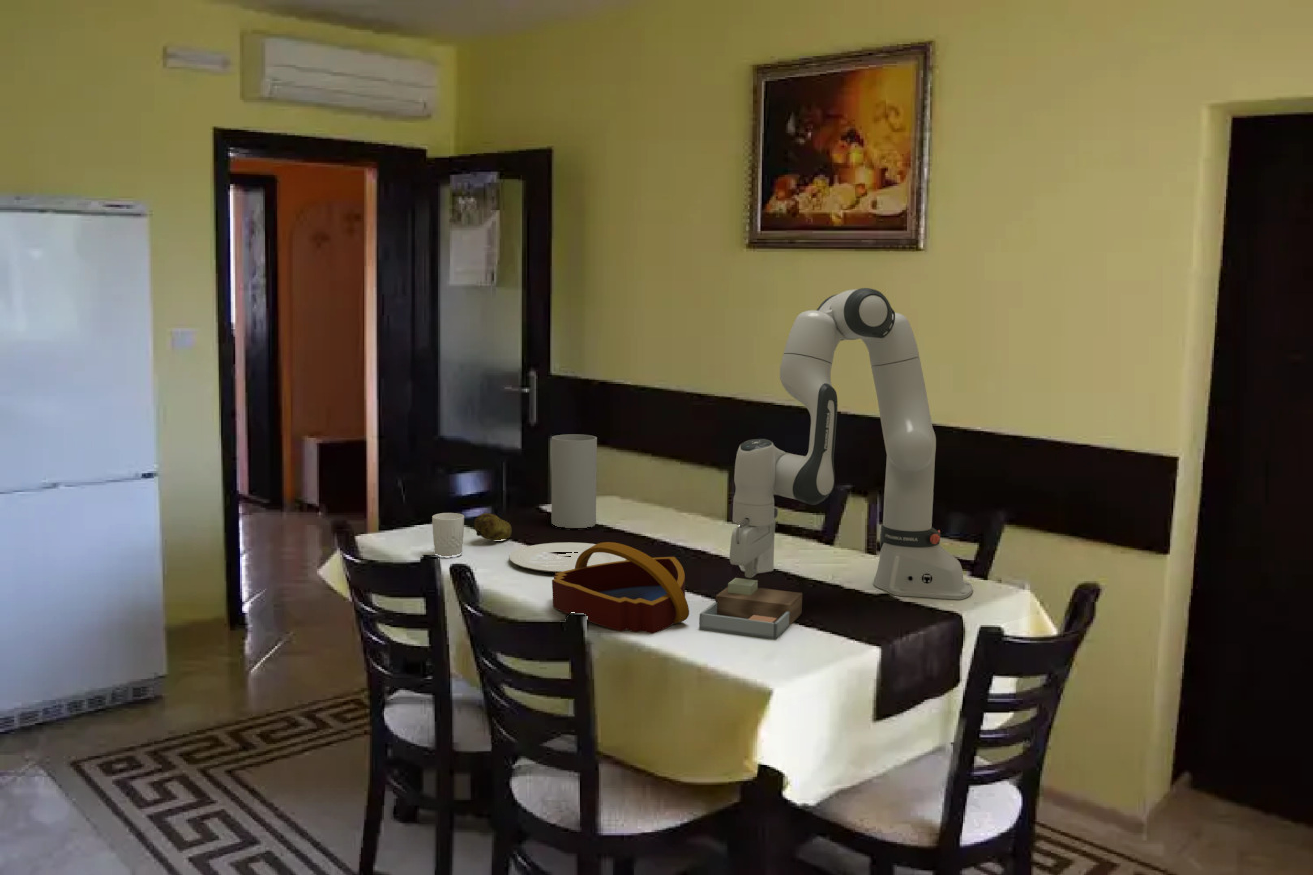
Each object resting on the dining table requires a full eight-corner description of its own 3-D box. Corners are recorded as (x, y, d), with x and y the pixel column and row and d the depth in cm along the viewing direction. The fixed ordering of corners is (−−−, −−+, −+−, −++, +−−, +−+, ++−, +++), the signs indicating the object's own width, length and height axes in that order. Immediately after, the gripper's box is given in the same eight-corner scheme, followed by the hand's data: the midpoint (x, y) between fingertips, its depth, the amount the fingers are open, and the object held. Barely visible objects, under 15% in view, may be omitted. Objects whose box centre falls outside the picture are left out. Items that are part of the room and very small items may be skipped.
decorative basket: (528, 612, 258) (520, 547, 254) (633, 573, 275) (627, 512, 272) (622, 655, 232) (614, 584, 228) (731, 610, 249) (726, 542, 245)
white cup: (426, 556, 295) (425, 517, 293) (443, 550, 302) (443, 511, 301) (453, 560, 292) (453, 520, 290) (470, 553, 299) (470, 514, 298)
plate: (651, 564, 293) (652, 556, 293) (564, 585, 272) (564, 577, 272) (571, 543, 313) (571, 536, 313) (484, 562, 292) (484, 554, 291)
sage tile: (757, 589, 254) (757, 580, 254) (750, 595, 249) (750, 586, 249) (735, 586, 256) (735, 577, 255) (727, 592, 251) (728, 583, 251)
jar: (751, 575, 283) (753, 525, 282) (731, 567, 290) (732, 519, 288) (781, 570, 288) (782, 522, 286) (760, 563, 295) (761, 515, 293)
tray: (788, 626, 243) (789, 611, 242) (776, 639, 234) (776, 624, 234) (714, 616, 249) (714, 602, 248) (699, 629, 240) (699, 613, 240)
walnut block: (801, 613, 252) (802, 593, 252) (788, 626, 243) (789, 605, 243) (730, 604, 258) (730, 584, 258) (715, 616, 249) (715, 595, 248)
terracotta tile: (769, 624, 235) (769, 634, 236) (776, 617, 240) (776, 627, 240) (745, 621, 237) (745, 630, 238) (753, 614, 242) (752, 624, 242)
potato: (523, 540, 314) (523, 510, 313) (484, 548, 305) (484, 517, 304) (503, 535, 320) (503, 506, 319) (465, 542, 311) (465, 512, 310)
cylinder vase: (599, 529, 329) (600, 440, 325) (554, 530, 326) (555, 441, 323) (592, 520, 341) (593, 434, 337) (548, 521, 338) (549, 434, 335)
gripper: (752, 525, 246) (749, 589, 248) (780, 507, 265) (777, 567, 267) (723, 521, 249) (721, 585, 251) (753, 504, 267) (751, 564, 269)
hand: (750, 576), depth 259 cm, fingers closed
